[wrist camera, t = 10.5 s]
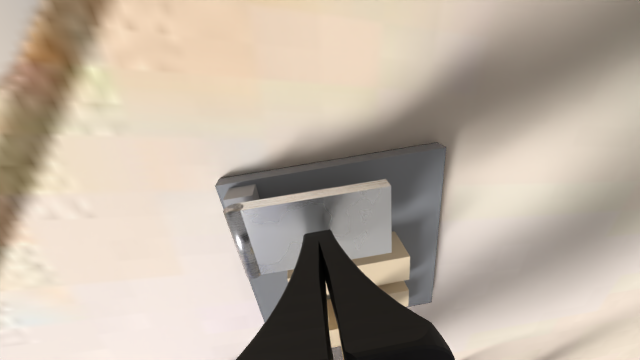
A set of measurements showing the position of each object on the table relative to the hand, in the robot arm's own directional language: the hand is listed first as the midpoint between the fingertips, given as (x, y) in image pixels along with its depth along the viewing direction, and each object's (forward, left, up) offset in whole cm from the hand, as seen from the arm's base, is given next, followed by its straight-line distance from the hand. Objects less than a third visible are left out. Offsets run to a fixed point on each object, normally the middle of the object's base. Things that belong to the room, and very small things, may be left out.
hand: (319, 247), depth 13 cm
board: (-4, -2, -5) cm, 7 cm away
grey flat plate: (0, +4, -2) cm, 4 cm away
